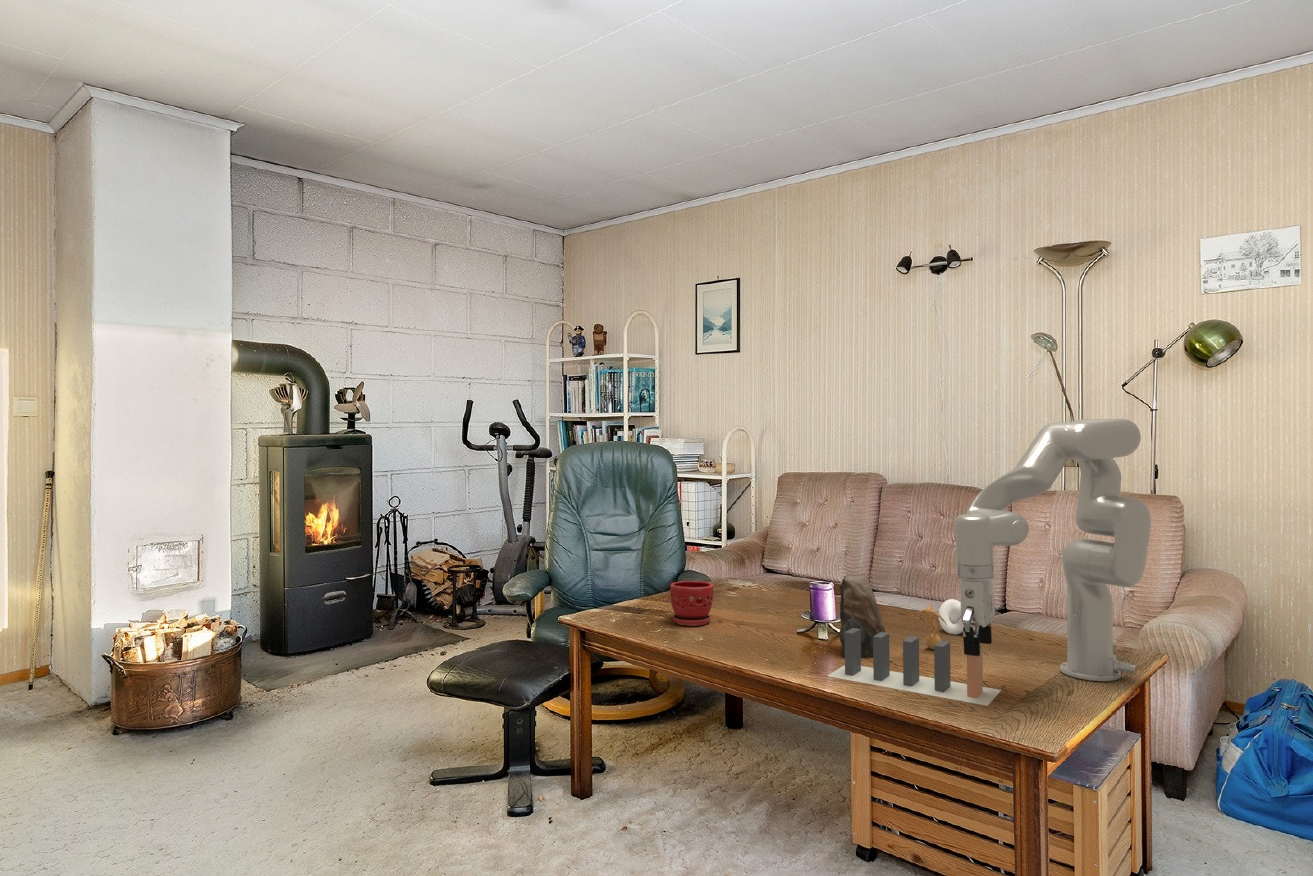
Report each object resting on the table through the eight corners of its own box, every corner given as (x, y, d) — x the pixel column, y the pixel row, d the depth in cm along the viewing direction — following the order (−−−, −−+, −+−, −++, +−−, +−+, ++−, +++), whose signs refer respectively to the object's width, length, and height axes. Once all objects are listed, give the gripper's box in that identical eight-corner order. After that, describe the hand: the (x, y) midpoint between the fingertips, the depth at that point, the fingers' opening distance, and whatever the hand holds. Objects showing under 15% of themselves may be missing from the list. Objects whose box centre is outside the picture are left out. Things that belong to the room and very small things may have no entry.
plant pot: (715, 627, 237) (714, 587, 237) (670, 628, 237) (670, 588, 237) (712, 617, 250) (712, 579, 250) (670, 617, 250) (670, 579, 250)
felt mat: (1001, 691, 177) (1001, 690, 177) (987, 707, 168) (987, 705, 168) (847, 665, 199) (847, 663, 199) (826, 677, 189) (826, 676, 189)
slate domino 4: (950, 686, 180) (950, 641, 180) (943, 692, 176) (943, 647, 176) (941, 684, 182) (941, 640, 182) (934, 690, 178) (934, 645, 177)
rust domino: (982, 691, 176) (982, 646, 176) (976, 698, 172) (976, 651, 172) (973, 690, 178) (972, 645, 177) (967, 696, 174) (966, 650, 173)
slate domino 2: (889, 675, 189) (889, 633, 189) (881, 681, 185) (881, 637, 185) (881, 674, 190) (880, 631, 190) (873, 679, 186) (873, 636, 186)
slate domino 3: (919, 680, 185) (919, 637, 184) (912, 686, 181) (911, 642, 180) (910, 679, 186) (910, 636, 186) (903, 685, 182) (902, 641, 182)
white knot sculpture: (939, 636, 224) (939, 604, 224) (937, 626, 236) (937, 596, 236) (982, 639, 221) (982, 607, 221) (979, 628, 232) (978, 598, 232)
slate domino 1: (861, 670, 193) (860, 629, 193) (853, 675, 189) (852, 633, 189) (853, 669, 194) (852, 627, 194) (844, 674, 190) (844, 632, 190)
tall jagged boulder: (843, 660, 202) (842, 581, 202) (827, 647, 215) (826, 572, 215) (891, 658, 204) (890, 580, 203) (873, 645, 216) (872, 571, 216)
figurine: (951, 650, 211) (951, 604, 210) (942, 655, 206) (942, 608, 206) (921, 644, 216) (921, 600, 216) (911, 649, 212) (911, 604, 212)
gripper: (982, 580, 165) (986, 662, 166) (1002, 565, 179) (1005, 641, 180) (945, 577, 170) (949, 657, 170) (968, 562, 184) (971, 636, 184)
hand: (978, 649), depth 175 cm, fingers open, 9 cm apart
